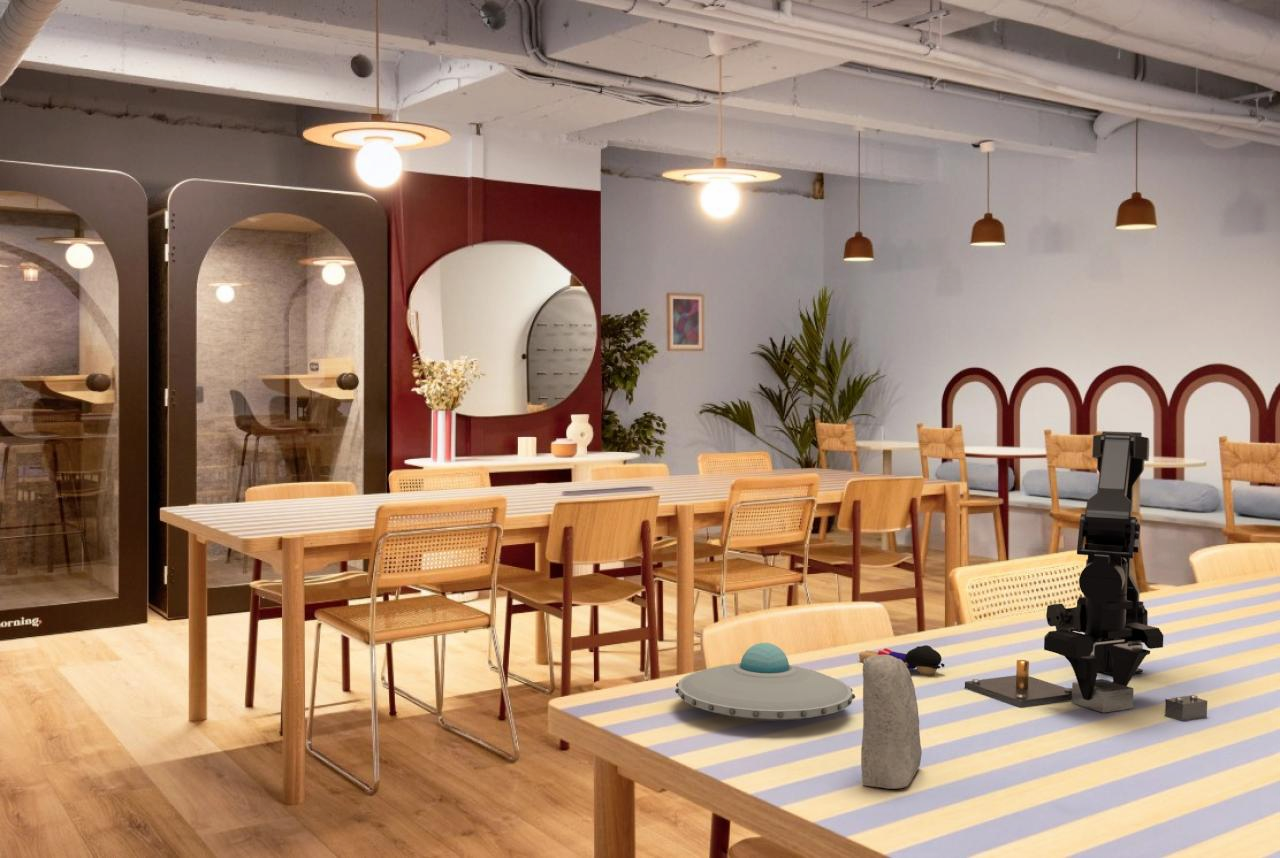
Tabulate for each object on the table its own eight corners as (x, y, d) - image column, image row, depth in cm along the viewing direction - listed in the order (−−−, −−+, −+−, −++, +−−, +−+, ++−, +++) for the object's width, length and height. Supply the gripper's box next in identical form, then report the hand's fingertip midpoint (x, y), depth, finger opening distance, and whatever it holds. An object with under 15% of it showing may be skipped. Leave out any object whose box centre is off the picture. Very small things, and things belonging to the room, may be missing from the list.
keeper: (1023, 680, 194) (1024, 649, 194) (1080, 699, 183) (1081, 666, 183) (964, 688, 189) (965, 656, 188) (1020, 707, 178) (1021, 673, 178)
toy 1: (637, 712, 172) (638, 643, 172) (744, 680, 192) (745, 617, 191) (788, 751, 155) (789, 674, 155) (888, 711, 175) (890, 643, 174)
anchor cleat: (1189, 711, 177) (1189, 692, 177) (1206, 717, 174) (1207, 697, 174) (1164, 715, 175) (1165, 696, 175) (1182, 721, 172) (1183, 701, 172)
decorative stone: (883, 760, 152) (886, 642, 152) (930, 768, 149) (933, 648, 149) (853, 785, 143) (856, 659, 142) (903, 794, 140) (906, 666, 139)
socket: (1100, 698, 183) (1101, 678, 183) (1132, 708, 178) (1133, 688, 178) (1071, 702, 181) (1072, 682, 181) (1103, 712, 175) (1104, 692, 175)
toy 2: (845, 669, 202) (926, 683, 192) (845, 642, 202) (925, 654, 192) (878, 660, 209) (957, 672, 199) (878, 633, 209) (957, 644, 199)
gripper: (1108, 580, 190) (1105, 678, 191) (1018, 587, 182) (1015, 690, 182) (1167, 591, 180) (1163, 696, 181) (1075, 600, 172) (1071, 709, 172)
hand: (1102, 697), depth 179 cm, fingers closed on socket, 6 cm apart
